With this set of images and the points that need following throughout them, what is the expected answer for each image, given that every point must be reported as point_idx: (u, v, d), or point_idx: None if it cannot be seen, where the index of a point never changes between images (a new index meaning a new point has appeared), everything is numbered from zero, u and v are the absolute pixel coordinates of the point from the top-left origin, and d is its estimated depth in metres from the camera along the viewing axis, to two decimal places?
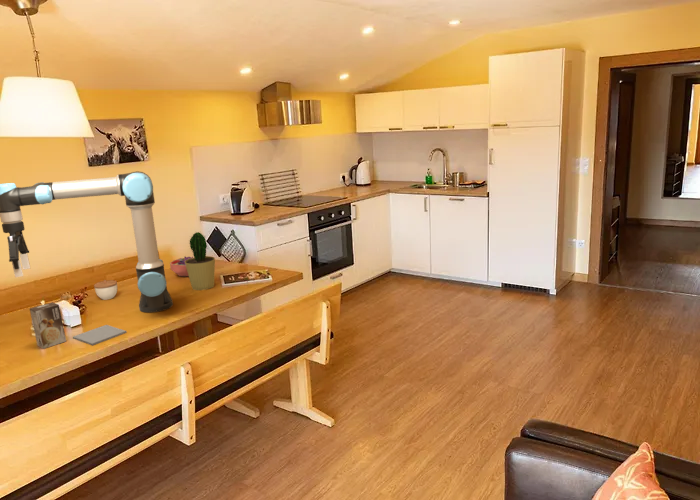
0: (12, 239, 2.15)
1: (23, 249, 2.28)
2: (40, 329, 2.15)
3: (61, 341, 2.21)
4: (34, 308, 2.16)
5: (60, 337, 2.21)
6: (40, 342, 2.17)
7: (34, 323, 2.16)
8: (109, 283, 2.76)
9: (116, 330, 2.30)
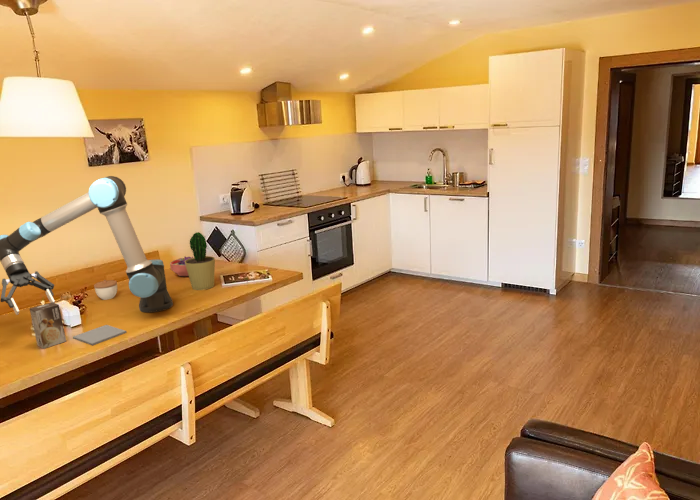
0: (2, 282, 2.21)
1: (42, 286, 2.29)
2: (40, 329, 2.15)
3: (61, 341, 2.21)
4: (34, 308, 2.16)
5: (60, 337, 2.21)
6: (40, 342, 2.17)
7: (34, 323, 2.16)
8: (109, 283, 2.76)
9: (116, 330, 2.30)
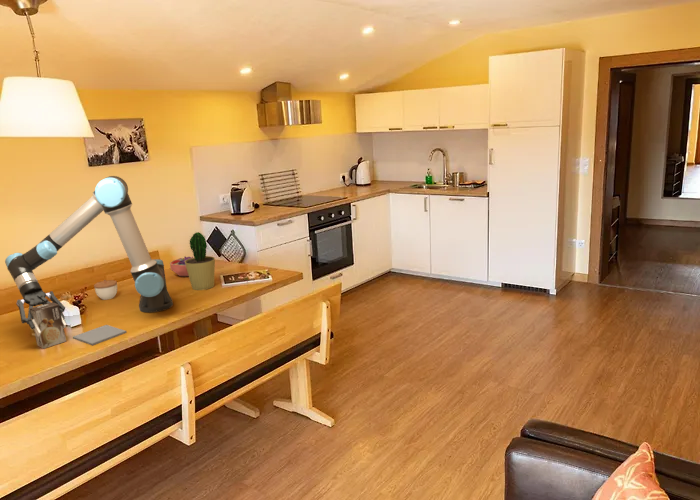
0: (18, 303, 2.17)
1: None
2: (40, 329, 2.15)
3: (61, 341, 2.21)
4: (34, 308, 2.16)
5: (60, 337, 2.21)
6: (40, 342, 2.17)
7: None
8: (109, 283, 2.76)
9: (116, 330, 2.30)
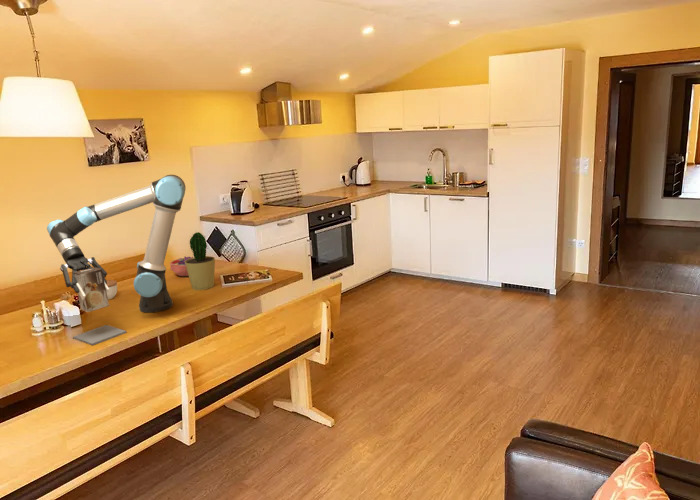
0: (62, 268, 2.20)
1: None
2: (84, 292, 2.18)
3: (104, 305, 2.24)
4: (78, 272, 2.19)
5: (103, 301, 2.24)
6: (84, 306, 2.20)
7: None
8: (109, 283, 2.76)
9: (116, 330, 2.30)
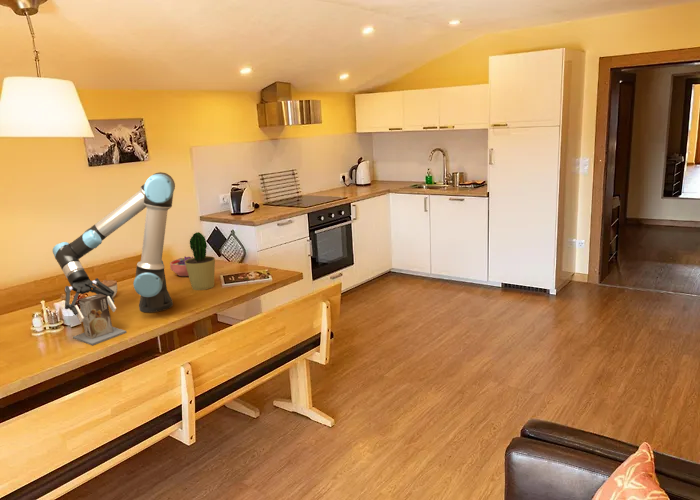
0: (65, 289, 2.23)
1: (103, 293, 2.30)
2: (89, 319, 2.20)
3: (108, 331, 2.27)
4: (83, 299, 2.22)
5: (108, 328, 2.26)
6: (89, 332, 2.22)
7: (83, 313, 2.22)
8: (109, 283, 2.76)
9: (116, 330, 2.30)
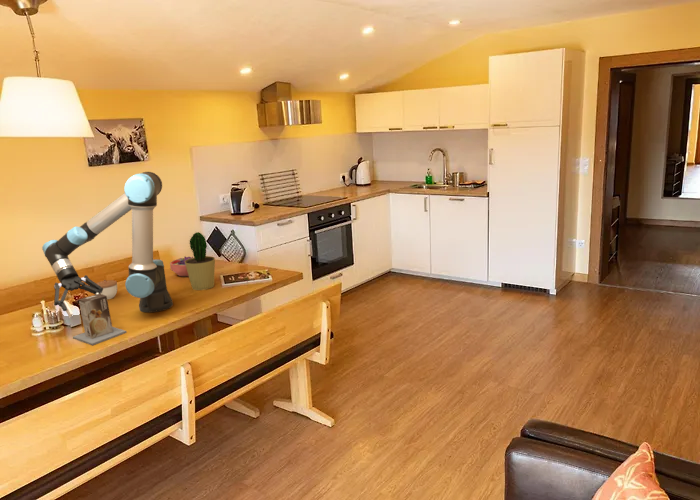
0: (55, 286, 2.28)
1: (92, 290, 2.36)
2: (89, 319, 2.20)
3: (108, 331, 2.27)
4: (83, 299, 2.22)
5: (108, 328, 2.26)
6: (89, 332, 2.22)
7: (83, 313, 2.22)
8: (109, 283, 2.76)
9: (116, 330, 2.30)
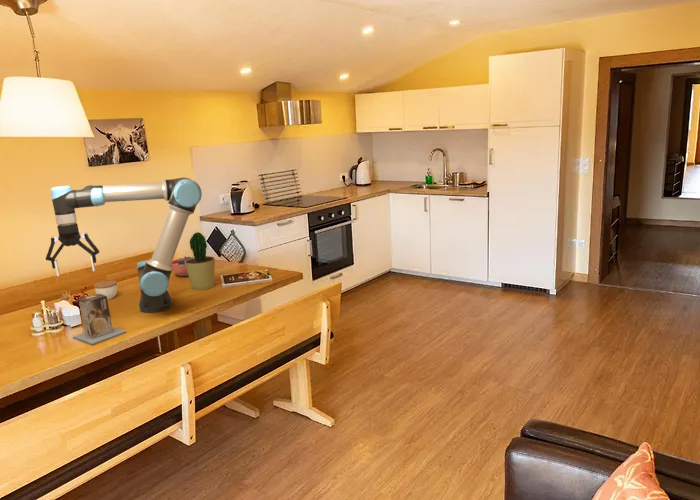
0: (51, 240, 2.24)
1: None
2: (89, 319, 2.20)
3: (108, 331, 2.27)
4: (83, 299, 2.22)
5: (108, 328, 2.26)
6: (89, 332, 2.22)
7: (83, 313, 2.22)
8: (109, 283, 2.76)
9: (116, 330, 2.30)
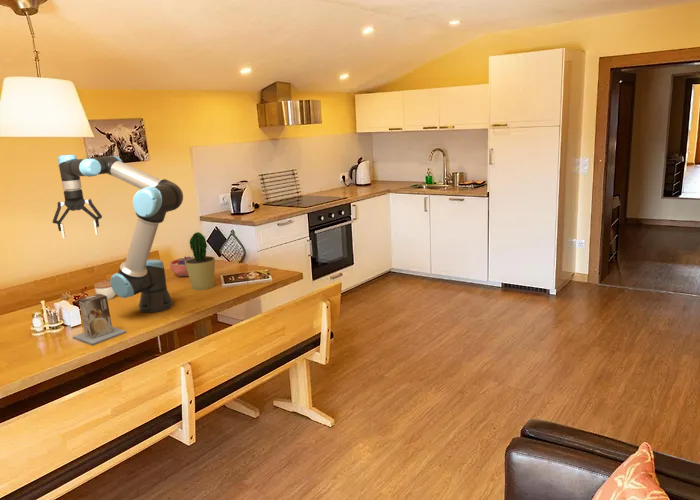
0: None
1: (91, 216, 2.49)
2: (89, 319, 2.20)
3: (108, 331, 2.27)
4: (83, 299, 2.22)
5: (108, 328, 2.26)
6: (89, 332, 2.22)
7: (83, 313, 2.22)
8: (109, 283, 2.76)
9: (116, 330, 2.30)
